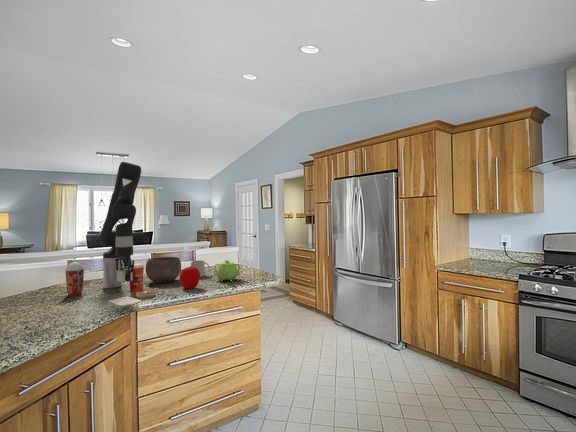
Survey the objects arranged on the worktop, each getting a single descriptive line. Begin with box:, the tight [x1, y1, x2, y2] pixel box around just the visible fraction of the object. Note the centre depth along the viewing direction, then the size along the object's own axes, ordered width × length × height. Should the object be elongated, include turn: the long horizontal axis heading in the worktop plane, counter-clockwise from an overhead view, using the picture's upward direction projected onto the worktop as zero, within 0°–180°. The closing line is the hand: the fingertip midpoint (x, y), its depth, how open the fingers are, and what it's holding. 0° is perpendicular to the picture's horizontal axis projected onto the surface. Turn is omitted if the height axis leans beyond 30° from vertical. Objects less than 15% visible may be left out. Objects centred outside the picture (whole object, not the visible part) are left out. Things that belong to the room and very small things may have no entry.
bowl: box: [145, 256, 182, 283], centre depth 196 cm, size 21×21×15 cm
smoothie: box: [64, 256, 85, 297], centre depth 166 cm, size 8×8×20 cm
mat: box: [108, 295, 142, 307], centre depth 155 cm, size 17×26×1 cm, turn 144°
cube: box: [117, 270, 133, 283], centre depth 151 cm, size 5×5×5 cm
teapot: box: [213, 259, 242, 282], centre depth 199 cm, size 16×14×13 cm
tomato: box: [179, 265, 201, 290], centre depth 177 cm, size 11×11×13 cm
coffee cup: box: [128, 262, 145, 293], centre depth 171 cm, size 8×8×15 cm
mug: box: [190, 260, 210, 278], centre depth 213 cm, size 11×10×10 cm
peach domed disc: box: [135, 288, 156, 299], centre depth 160 cm, size 9×9×2 cm
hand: (124, 280), depth 151 cm, fingers closed on cube, 5 cm apart
